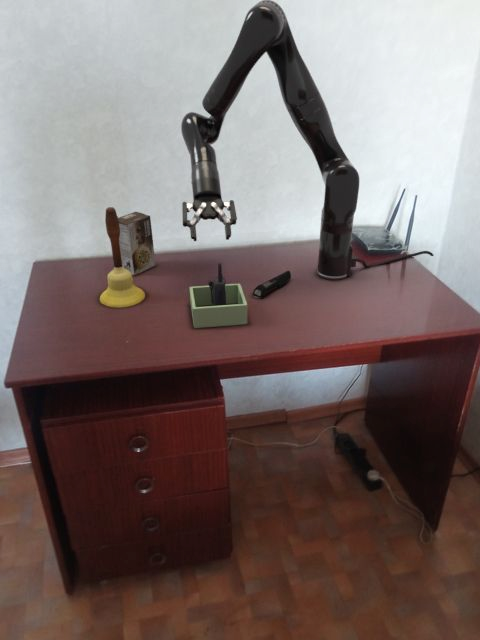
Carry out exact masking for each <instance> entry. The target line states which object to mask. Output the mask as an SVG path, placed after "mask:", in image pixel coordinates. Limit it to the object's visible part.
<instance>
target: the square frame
mask: <svg viewBox="0 0 480 640" xmlns="http://www.w3.org/2000/svg"><path fill="white" fill-rule="evenodd" d="M188 288H189V302H190V303H189V305H190V310H191V317H192V325H193V329H201V328H213V327H228V326H239V325H248V302H247V300H246V297H245V294H244V291H243V288H242V285H241V283H227V284H226V283H225V291H226V305H221V306H213V304H212V301H211V290H210V287H209V285H196V286H189V287H188ZM212 296H213V289H212Z"/></svg>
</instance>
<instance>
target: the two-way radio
mask: <svg viewBox="0 0 480 640" xmlns="http://www.w3.org/2000/svg"><path fill="white" fill-rule="evenodd" d="M207 284H208V285H207V286H209V287H210V290H211V301H212V304H213V305H212V306H221V305H227V304H226V291H225V284H226V278H225V277H224V276H223V268H222V263H221V262H218V264H217V276H216V277H215V278H213V280H211V279H209V280H207ZM212 289H213V296H212Z"/></svg>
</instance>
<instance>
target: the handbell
mask: <svg viewBox="0 0 480 640" xmlns="http://www.w3.org/2000/svg"><path fill="white" fill-rule="evenodd" d="M104 217H105V220H104V222H105V229H106V235H107V236H108V238H109V242H110V247H111V254H112V261H113V269H112V270H110V271H109V273H108V274H107V285H108V286H107V288H106V290H104V291H102V293H101V294H100V296H99V302H100V303H101V304H102V305H104V306H105V307H109V308H110V307H111V308H127V307H132V306H136V305H137V304H140V303H141V302H142V301H144V300H145V298H146V293H145V291H144V290H143V289H142V288H140V287H138V286H136V285H135V284H134V279H133V275H132V274H131V272H130V271H128V270H126V269H124V268H123V266H122V259H121V252H120V244H119V236H120V226H119V220H118V218H119V217H118V214H117V210H116V208H114V207H113V206H110V207H106V208H105V216H104Z"/></svg>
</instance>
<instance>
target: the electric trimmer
mask: <svg viewBox="0 0 480 640" xmlns="http://www.w3.org/2000/svg"><path fill="white" fill-rule="evenodd" d="M291 278H292V273H291V271H290V270H286V271H284V272H282V273H281V274H278V275H277V276H274V277H272V278H271V279H268V280H266V281H264V282H262V283H261V284H258V285H257V286H256V287H255V288H254V289H253V292H252V296H253V297H255V298H257V299H264V298H265V296H266V295H267V294H268V293H269V292H271V291H273V290H275V289H276V288H281V287H282V286H283V285H284V284H286V283H287V282H288V281H289V280H291Z"/></svg>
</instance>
